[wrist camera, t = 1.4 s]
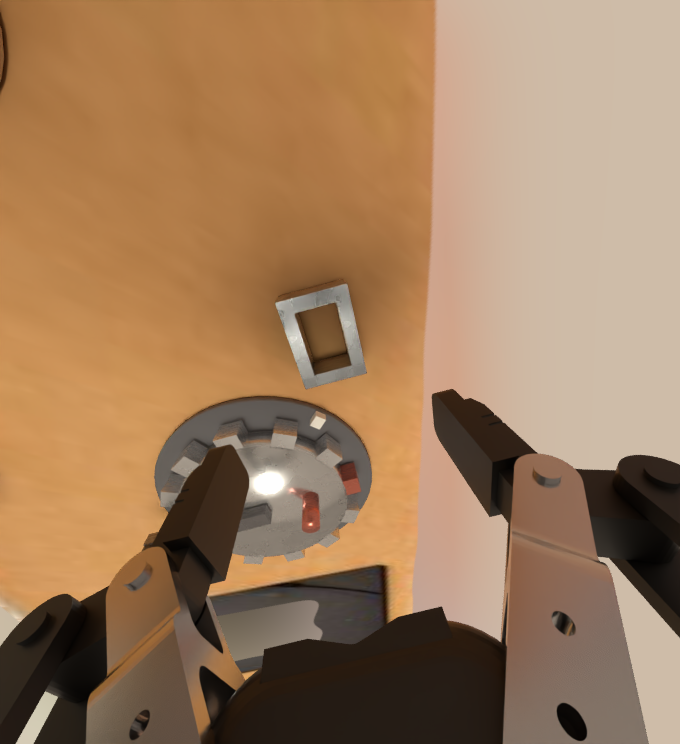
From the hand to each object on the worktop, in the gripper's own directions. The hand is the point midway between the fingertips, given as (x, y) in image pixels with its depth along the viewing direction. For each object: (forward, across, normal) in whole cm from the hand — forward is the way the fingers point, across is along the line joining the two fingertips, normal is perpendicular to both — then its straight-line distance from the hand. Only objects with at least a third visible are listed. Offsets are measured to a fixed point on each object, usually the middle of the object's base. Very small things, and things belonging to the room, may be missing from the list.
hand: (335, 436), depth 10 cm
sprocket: (+12, +11, +15) cm, 22 cm away
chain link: (+12, 0, 0) cm, 13 cm away
